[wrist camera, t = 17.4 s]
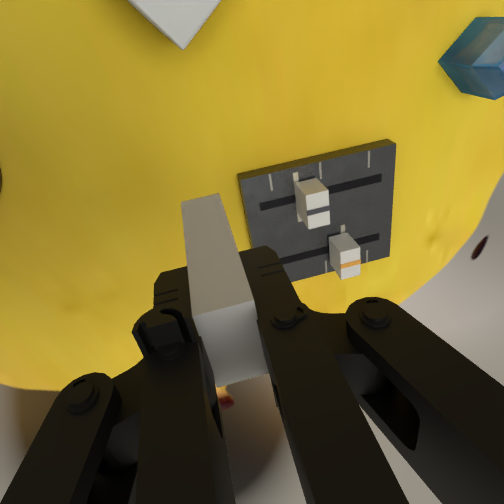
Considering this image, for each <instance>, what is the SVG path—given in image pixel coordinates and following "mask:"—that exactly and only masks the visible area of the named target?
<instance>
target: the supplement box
mask: <svg viewBox="0 0 504 504" xmlns="http://www.w3.org/2000/svg"><path fill="white" fill-rule="evenodd" d="M127 1H128V2H129V3H130V4H131V5H132V6H133V7H134V8H136V9H137V10H138V11H139V12H140V13H141V14H142V15H143V16H144V17H145V18H146V19H147V20H148V21H149V22H150V23H152V24H153V25H154V26H155V27H156V28H157V29H158V30H159V31H161V32H162V33H163V34H164V35H165V36H166V37H168V38H169V39H170V40H171V41H172V42H173V43H175V44H176V45H177V46H178V47H179V48H181V49H182V50H184V49H185V48H186V46H187V45H188V44H189V43H190V41H191V40H192V39H193V37H194V36H195V35H196V33H197V32H198V31H199V30H200V28H201V27H202V26H203V24H204V23H205V22H206V20H207V19H208V18H209V16H210V15H211V14H212V12H213V11H214V10H215V8H216V7H217V6H218V4H219V3H220V1H221V0H127Z"/></svg>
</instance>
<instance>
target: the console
mask: <svg viewBox="0 0 504 504" xmlns="http://www.w3.org/2000/svg"><path fill="white" fill-rule="evenodd" d="M395 156H396V143H394V142H392V141H390V140H388V139H385V140H381V141H376V142H372V143H368V144H363V145H359V146H355V147H351V148H346V149H342V150H338V151H333V152H329V153H325V154H321V155H316V156H312V157H308V158H304V159H299V160H295V161H291V162H286V163H282V164H278V165H274V166H269V167H265V168H261V169H256V170H252V171H248V172H244V173H239V174H237V176H238V181H239V186H240V191H241V197H242V202H243V207H244V212H245V217H246V222H247V227H248V232H249V238H250V243H251V248H252V249H253V248H257V247H261V246H265V245H266V246H268V247H269V248H271V249H272V250H274V251H275V252H276V253H277V255H278V257H279V259H280V261H281V263H282V265H283V267H284V270H285V271H286V273H287V275H288V277H289V279H290V281H291V282H294V281H297V280H301V279H305V278H309V277H313V276H317V275H320V274H324V273H328V272H332V271H335V270H334V269H333V267H332V266H331V264H330V254H329V237H331V236H335V235H339V234H343V233H348V234H349V235H350V236H351V237H352V238H353V239H354V241H355V242H356V243H357V244H358V245H359V246H360V259H361V264H362V263H366V262H370V261H374V260H378V259H381V258H385V257H389V255H390V238H391V222H392V205H393V189H394V172H395ZM313 178H317V179H318V180H319V181H320V182H321V183H322V184H323V185H324V186H325V187H326V188H327V189H328V191H329V205H330V211H329V212H330V224H329V225H325V226H321V227H317V228H313V229H308V228H307V226H306V225H305V224H304V222H303V221H302V219H301V218H300V216H299V215H298V205H297V195H296V186H295V183H296V182H301V181H305V180H309V179H313Z"/></svg>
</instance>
